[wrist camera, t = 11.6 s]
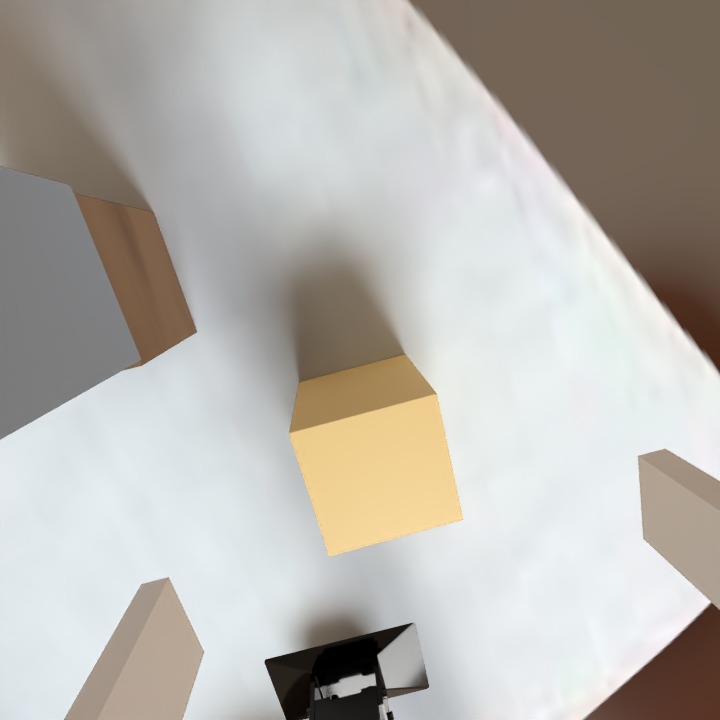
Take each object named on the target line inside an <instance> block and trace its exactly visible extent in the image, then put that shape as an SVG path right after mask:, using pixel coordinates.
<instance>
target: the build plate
mask: <svg viewBox="0 0 720 720" xmlns="http://www.w3.org/2000/svg"><path fill="white" fill-rule="evenodd" d="M265 665H266V668H267V670H268V673H269V675H270V678H271V681H272V683H273V686H274V688H275V691H276V694H277V696H278V699H279V702H280V704H281V707H282V709H283V712H284V715H285V717H286V720H303V719H307V718H309V720H394V717H393V712H392V711H390V712H389V705H388V698H391V697H395V696H400V695H404V694H408V693H412V692H416V691H420V690H424V689H427V688H428V687H429V684H428V679H427V675H426V670H425V665H424V661H423V656H422V652H421V647H420V642H419V638H418V633H417V629H416V624H415V623H410V624H406V625H402V626H398V627H394V628H390V629H386V630H382V631H378V632H374V633H370V634H366V635H362V636H358V637H354V638H350V639H346V640H342V641H338V642H334V643H330V644H326V645H322V646H318V647H314V648H310V649H306V650H302V651H298V652H294V653H290V654H286V655H282V656H278V657H274V658H270V659H266V660H265Z"/></svg>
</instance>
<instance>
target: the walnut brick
mask: <svg viewBox="0 0 720 720" xmlns="http://www.w3.org/2000/svg"><path fill="white" fill-rule="evenodd" d="M74 195H75V197H76V200H77V202H78V205H79V207H80V210H81V212H82V215H83V217H84V219H85V222H86V224H87V227H88V229H89V232H90V234H91V237H92V239H93V242H94V244H95V247H96V249H97V251H98V254H99V256H100V259H101V261H102V264H103V266H104V269H105V271H106V274H107V276H108V279H109V281H110V283H111V286H112V288H113V291H114V293H115V296H116V298H117V301H118V303H119V306H120V308H121V311H122V313H123V315H124V318H125V320H126V323H127V325H128V328H129V330H130V333H131V335H132V338H133V340H134V343H135V345H136V347H137V350H138V352H139V355H140V357H141V360H140V361H138V362H136V363H134V364H133V365H131V366H129V367H127V368H126V369H130V368H134V367H138V366H142V365H144V364H145V363H147V362H148V361H150V360H152V359H153V358H155V357H157V356H158V355H160V354H162V353H163V352H165V351H167V350H168V349H170V348H172V347H173V346H175V345H176V344H178V343H180V342H181V341H183V340H185V339H186V338H188V337H190V336H191V335H193V334H195V333H196V332H197V331H196V328H195V325H194V322H193V320H192V317H191V314H190V311H189V309H188V306H187V303H186V300H185V297H184V295H183V292H182V289H181V286H180V284H179V281H178V278H177V275H176V273H175V270H174V267H173V264H172V262H171V259H170V256H169V253H168V250H167V248H166V245H165V242H164V239H163V237H162V234H161V231H160V228H159V226H158V223H157V220H156V217H155V215H154V212H150V211H146V210H141V209H137V208H133V207H129V206H124V205H120V204H116V203H112V202H108V201H103V200H99V199H95V198H91V197H87V196H82V195H78V194H74ZM126 369H124V370H126Z"/></svg>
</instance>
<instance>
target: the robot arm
mask: <svg viewBox="0 0 720 720" xmlns="http://www.w3.org/2000/svg"><path fill="white" fill-rule="evenodd" d="M638 464H639V480H640V495H641V510H642V526H643V539H644V540H645V541H646V542H647V543H649V544H650V545H651V546H652V547H653V548H654V549H655V550H656V551H657V552H658V553H659V554H660V555H661V556H663V557H664V558H665V559H666V560H667V561H668V562H669V563H670V564H671V565H672V566H673V567H674V568H675V569H677V570H678V571H679V572H680V573H681V574H682V575H683V576H684V577H685V578H686V579H687V580H688V581H689V582H691V583H692V584H693V585H694V586H695V587H696V588H697V589H698V590H699V591H700V592H701V593H702V594H703V595H705V596H706V597H707V598H708V599H709V600H710V601H711V602H712V603H713V604H714V605H715V606H716V607H717V608H719V609H720V481H719V480H717V479H715V478H714V477H712V476H710V475H709V474H707V473H705V472H703V471H702V470H700V469H698V468H697V467H695V466H693V465H692V464H690V463H688V462H687V461H685V460H683V459H682V458H680V457H678V456H677V455H675V454H673V453H672V452H670V451H668V450H667V449H663V450H659V451H655V452H651V453H647V454H643V455H639V456H638ZM203 654H204V651H203V649H202V647H201V645H200V642H199V640H198V638H197V636H196V634H195V632H194V630H193V628H192V625H191V623H190V621H189V619H188V617H187V615H186V613H185V611H184V609H183V606H182V604H181V602H180V600H179V598H178V596H177V594H176V592H175V590H174V587H173V585H172V583H171V581H170V579H169V577H168V578H164V579H160V580H156V581H152V582H149V583H145V584H141V586H140V588H139V589H138V591H137V593H136V595H135V596H134V598H133V600H132V602H131V603H130V605H129V607H128V609H127V610H126V612H125V614H124V616H123V617H122V619H121V621H120V623H119V624H118V626H117V628H116V630H115V631H114V633H113V635H112V637H111V638H110V640H109V642H108V644H107V645H106V647H105V649H104V651H103V652H102V654H101V656H100V658H99V659H98V661H97V663H96V665H95V666H94V668H93V670H92V672H91V673H90V675H89V677H88V679H87V680H86V682H85V684H84V686H83V687H82V689H81V691H80V693H79V694H78V696H77V698H76V700H75V701H74V703H73V705H72V707H71V708H70V710H69V712H68V714H67V715H66V717H65V719H64V720H182V719H183V716H184V713H185V710H186V707H187V704H188V701H189V697H190V694H191V691H192V688H193V685H194V682H195V679H196V676H197V672H198V669H199V666H200V663H201V660H202V657H203Z"/></svg>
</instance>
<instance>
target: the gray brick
mask: <svg viewBox="0 0 720 720" xmlns="http://www.w3.org/2000/svg"><path fill="white" fill-rule="evenodd" d="M140 360H141V357H140V355H139V352H138V350H137V347H136V345H135V343H134V340H133V338H132V335H131V333H130V330H129V328H128V325H127V323H126V320H125V318H124V315H123V313H122V311H121V308H120V306H119V303H118V301H117V298H116V296H115V293H114V291H113V288H112V286H111V283H110V281H109V279H108V276H107V274H106V271H105V269H104V266H103V264H102V261H101V259H100V256H99V254H98V251H97V249H96V247H95V244H94V242H93V239H92V237H91V234H90V232H89V229H88V227H87V224H86V222H85V219H84V217H83V215H82V212H81V210H80V207H79V205H78V202H77V200H76V197H75V195H74V192H73V190H72V187H71V185H68V184H64V183H61V182H57V181H53V180H49V179H46V178H42V177H38V176H35V175H31V174H27V173H24V172H20V171H16V170H13V169H9V168H5V167H1V166H0V439H2V438H4V437H6V436H7V435H9V434H11V433H13V432H14V431H16V430H18V429H20V428H21V427H23V426H25V425H27V424H29V423H30V422H32V421H34V420H36V419H37V418H39V417H41V416H43V415H44V414H46V413H48V412H50V411H51V410H53V409H55V408H57V407H59V406H60V405H62V404H64V403H66V402H67V401H69V400H71V399H73V398H74V397H76V396H78V395H80V394H81V393H83V392H85V391H87V390H89V389H90V388H92V387H94V386H96V385H97V384H99V383H101V382H103V381H104V380H106V379H108V378H110V377H111V376H113V375H115V374H117V373H119V372H120V371H122V370H124V369H126V368H127V367H129V366H131V365H133V364H134V363H136V362H138V361H140Z"/></svg>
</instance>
